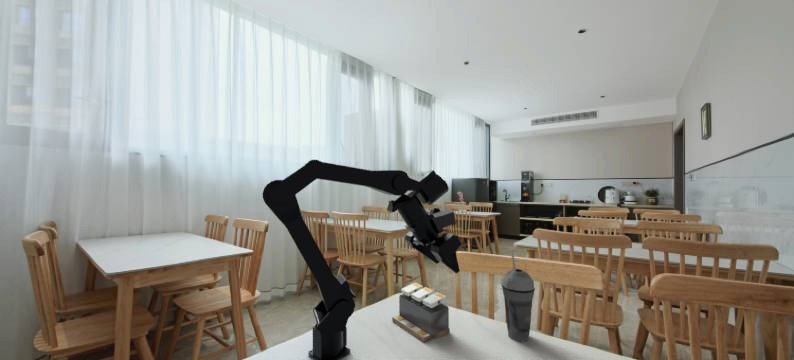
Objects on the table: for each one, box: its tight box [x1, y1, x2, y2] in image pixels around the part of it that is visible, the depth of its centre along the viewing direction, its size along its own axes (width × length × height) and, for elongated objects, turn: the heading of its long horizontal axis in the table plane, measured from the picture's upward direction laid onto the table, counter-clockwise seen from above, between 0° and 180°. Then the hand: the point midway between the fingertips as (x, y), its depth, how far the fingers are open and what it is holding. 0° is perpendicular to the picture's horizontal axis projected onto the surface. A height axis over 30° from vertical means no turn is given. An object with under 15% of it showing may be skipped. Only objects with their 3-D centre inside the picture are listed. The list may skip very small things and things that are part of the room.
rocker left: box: [400, 282, 424, 296], centre depth 81 cm, size 5×3×1 cm
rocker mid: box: [411, 286, 435, 302], centre depth 77 cm, size 5×3×1 cm
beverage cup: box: [501, 250, 536, 342], centre depth 71 cm, size 7×7×20 cm
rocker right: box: [422, 291, 447, 308], centre depth 73 cm, size 5×3×1 cm
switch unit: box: [391, 293, 451, 343], centre depth 76 cm, size 8×13×6 cm, turn 34°
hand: (447, 267), depth 76 cm, fingers open, 9 cm apart
